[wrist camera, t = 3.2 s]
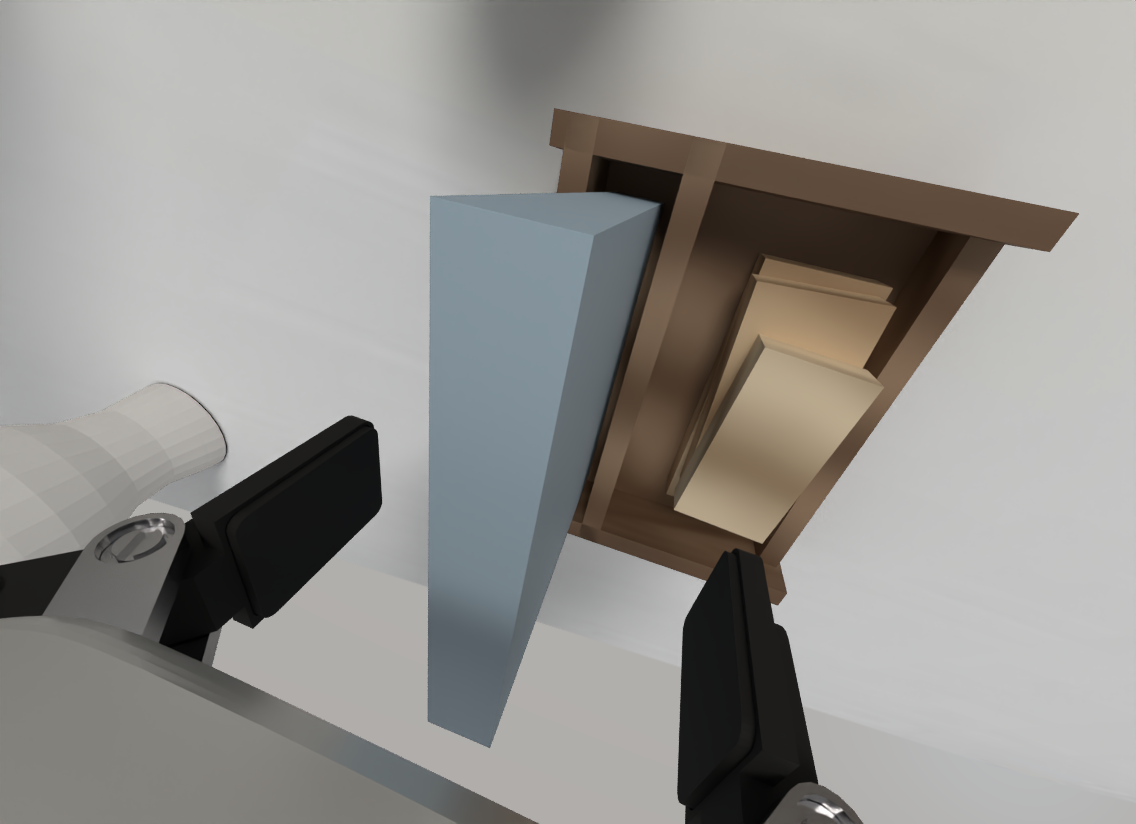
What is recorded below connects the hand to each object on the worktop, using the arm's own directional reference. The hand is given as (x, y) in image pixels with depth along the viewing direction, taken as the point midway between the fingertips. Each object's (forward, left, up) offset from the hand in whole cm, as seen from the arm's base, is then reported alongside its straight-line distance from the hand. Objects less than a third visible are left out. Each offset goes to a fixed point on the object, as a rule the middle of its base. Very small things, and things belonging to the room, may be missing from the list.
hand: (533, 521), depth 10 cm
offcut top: (0, +7, -9) cm, 11 cm away
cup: (+16, -33, -13) cm, 39 cm away
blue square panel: (0, 0, -12) cm, 12 cm away
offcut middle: (-1, +7, -10) cm, 12 cm away
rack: (0, +4, -13) cm, 13 cm away
